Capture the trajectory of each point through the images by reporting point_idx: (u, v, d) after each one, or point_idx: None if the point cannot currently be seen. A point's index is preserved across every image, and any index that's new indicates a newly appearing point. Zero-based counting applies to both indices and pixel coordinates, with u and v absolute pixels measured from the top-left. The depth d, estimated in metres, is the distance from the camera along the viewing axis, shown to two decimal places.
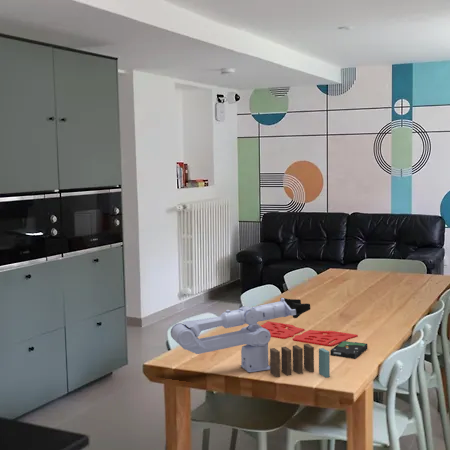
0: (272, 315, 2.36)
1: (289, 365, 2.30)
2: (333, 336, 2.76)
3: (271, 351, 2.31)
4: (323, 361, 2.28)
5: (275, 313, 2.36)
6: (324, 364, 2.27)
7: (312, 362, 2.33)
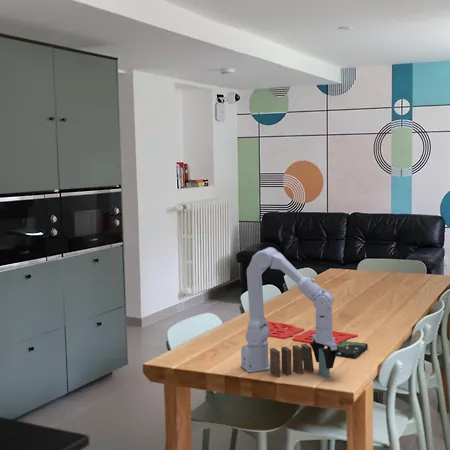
0: (319, 325, 2.25)
1: (289, 365, 2.30)
2: (333, 336, 2.76)
3: (271, 351, 2.31)
4: (323, 361, 2.28)
5: (327, 329, 2.25)
6: (324, 364, 2.27)
7: (311, 362, 2.32)
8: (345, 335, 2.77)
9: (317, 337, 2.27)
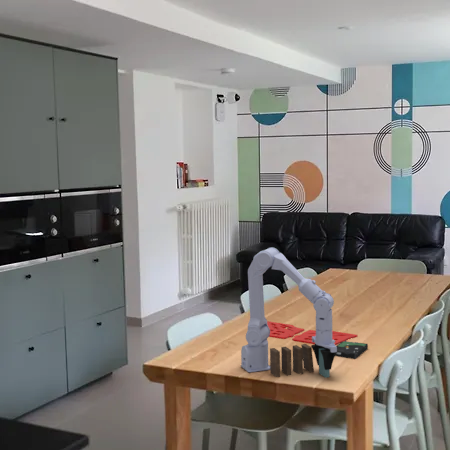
0: (319, 328, 2.25)
1: (289, 365, 2.30)
2: (333, 336, 2.76)
3: (271, 351, 2.31)
4: (323, 361, 2.28)
5: (327, 331, 2.25)
6: None
7: (311, 362, 2.32)
8: (345, 335, 2.77)
9: (317, 339, 2.27)
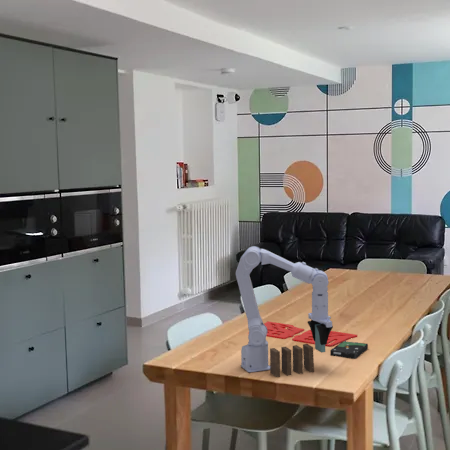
0: (317, 304, 2.31)
1: (289, 365, 2.30)
2: (333, 336, 2.76)
3: (271, 351, 2.31)
4: (319, 337, 2.33)
5: (323, 307, 2.31)
6: None
7: (312, 362, 2.33)
8: (345, 335, 2.77)
9: (313, 315, 2.33)
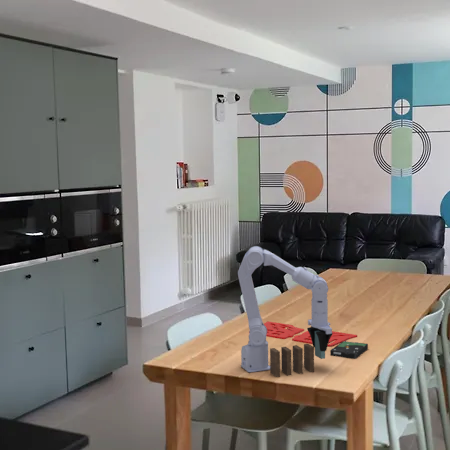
0: (317, 310, 2.32)
1: (289, 365, 2.30)
2: (333, 336, 2.76)
3: (271, 351, 2.31)
4: None
5: (323, 313, 2.32)
6: None
7: (312, 362, 2.33)
8: (345, 335, 2.77)
9: (313, 322, 2.34)
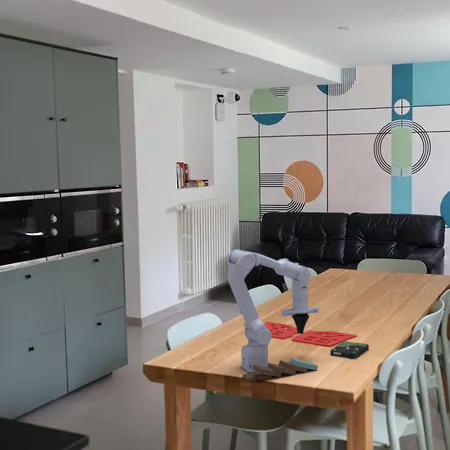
0: (302, 296, 2.41)
1: (273, 373, 2.26)
2: (332, 336, 2.75)
3: None
4: None
5: (293, 298, 2.43)
6: (306, 367, 2.33)
7: (299, 368, 2.31)
8: (344, 335, 2.77)
9: None
